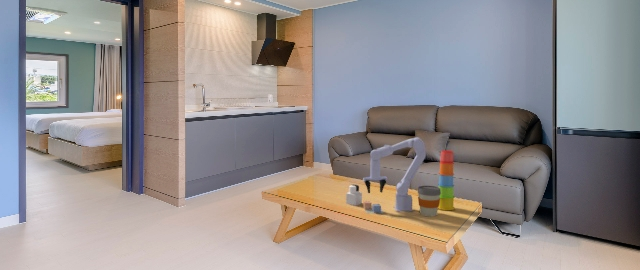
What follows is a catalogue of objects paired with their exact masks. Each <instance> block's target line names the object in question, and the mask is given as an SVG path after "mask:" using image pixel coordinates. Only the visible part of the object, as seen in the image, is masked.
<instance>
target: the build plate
mask: <svg viewBox="0 0 640 270" xmlns="http://www.w3.org/2000/svg"><path fill="white" fill-rule="evenodd" d="M364 211H365V212H366V214H375V213H374V212H373V211H372V207H371V210H365V209H364ZM384 213H385V211H384V210H382V208H381V213H380V214H384Z"/></svg>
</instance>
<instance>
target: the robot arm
mask: <svg viewBox="0 0 640 270" xmlns="http://www.w3.org/2000/svg"><path fill="white" fill-rule="evenodd" d="M405 148H413V149H414V152H415V157H414V159H413V160H412V161H411V163H410V165H409V167H408V169H407V171H406V172H405V174H404V175H403V178H401V180H400V181H399V182H398V183H397V184H396V185H395V189H396V193H395V201H394V202H395V203H394V204H395V206H393V209H394V210H395V211H396V212H413V211H414V210H413V196H412V194H409V193H408V192H409V188H410V187H411V186H410V185H411V183H412V181H413V179H414V177H415V175H416V174H417V172H418V170H419V169H420V167H421V166H422V165H423V164H422V163H423V162H424V160H425V158H426V154H427V153H426V152H427V151H426V145H425V142H424V141H423V139H421V138H420V137H418V136H416V137H415V136H414V137H413V138H409V139H405V140H403V141H401V142H398V143H395V144H393V145H390V144H384V146H382V147H377V148H376V149H372V150H371V151H370V155H369V156H370V164H369V165H370V166H369V168H370V170H369V171H370V173H369V176H366V177H362V182H364V184H365V187H366V190H367V193H368V194H371V182H374V181H375V182H377V181H379V192H380V193H383V191H384V187H385V185H386V184H387V181H388V177H387V176H381V162H380V160H381V158H384V157H387V156H390V155H393V153H394V152H395V151H398V150H402V149H405Z"/></svg>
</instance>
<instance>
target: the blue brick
mask: <svg viewBox="0 0 640 270" xmlns="http://www.w3.org/2000/svg"><path fill="white" fill-rule="evenodd" d="M371 208H372V211H373V212H374V213H373V214H382V213H381V209H382V205H380V203H372V207H371Z"/></svg>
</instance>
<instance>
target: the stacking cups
mask: <svg viewBox="0 0 640 270" xmlns="http://www.w3.org/2000/svg"><path fill="white" fill-rule="evenodd" d="M454 164H455V162H454V151H453V150H441V152H440V161H439V172H438V175H439V176H438V177H439V179H438V183H437V185H438V187H439V188H440V191H441V194H440V202H439V207H438V209H439V210H443V211H453V210H456V209H455V208H456V207H454V200H455V199H454V198H455V195H454V187H455V184H454V175H455V174H454Z"/></svg>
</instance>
